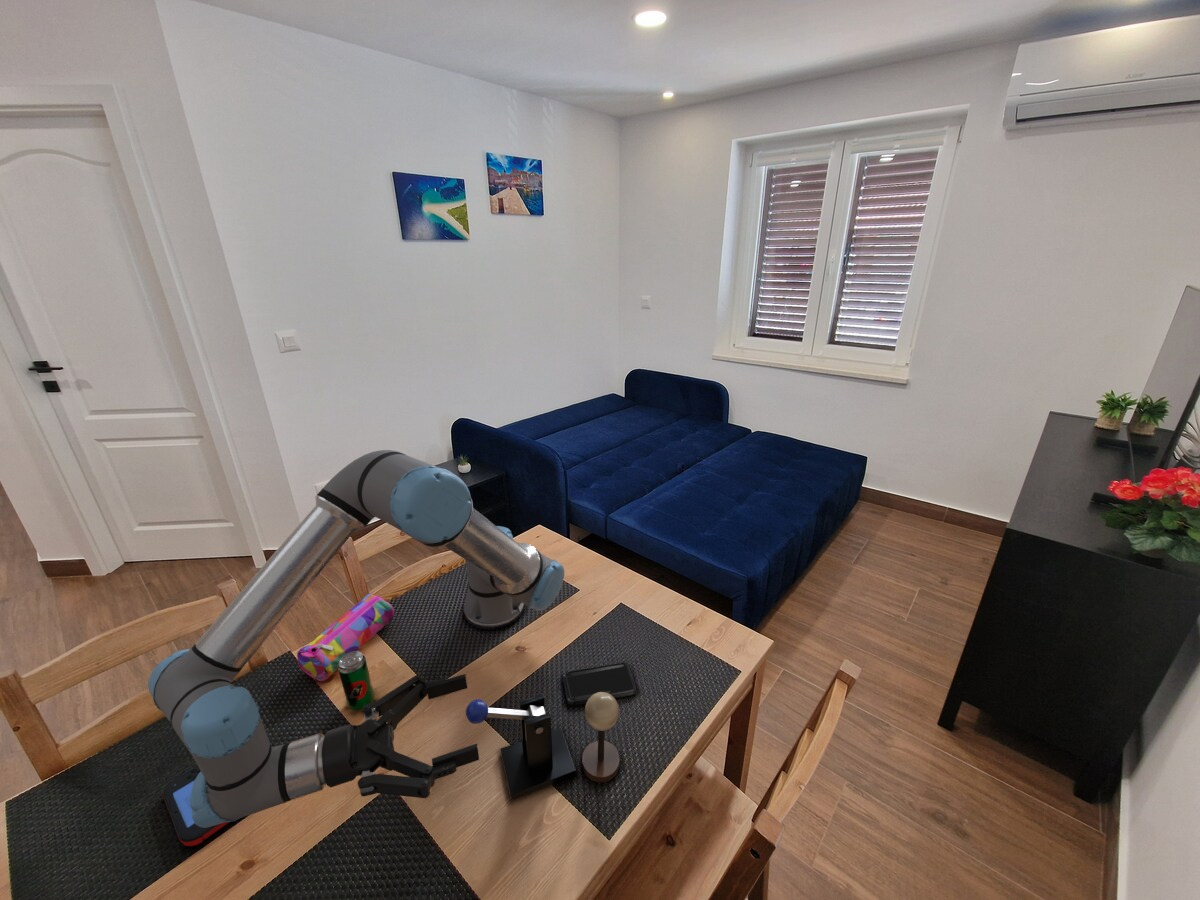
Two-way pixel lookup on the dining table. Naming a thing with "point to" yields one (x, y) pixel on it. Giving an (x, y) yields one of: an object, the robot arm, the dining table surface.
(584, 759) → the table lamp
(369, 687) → the soda can
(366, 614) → the pencil case
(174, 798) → the game console
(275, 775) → the robot arm
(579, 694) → the phone
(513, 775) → the switch bracket
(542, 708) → the switch lever
